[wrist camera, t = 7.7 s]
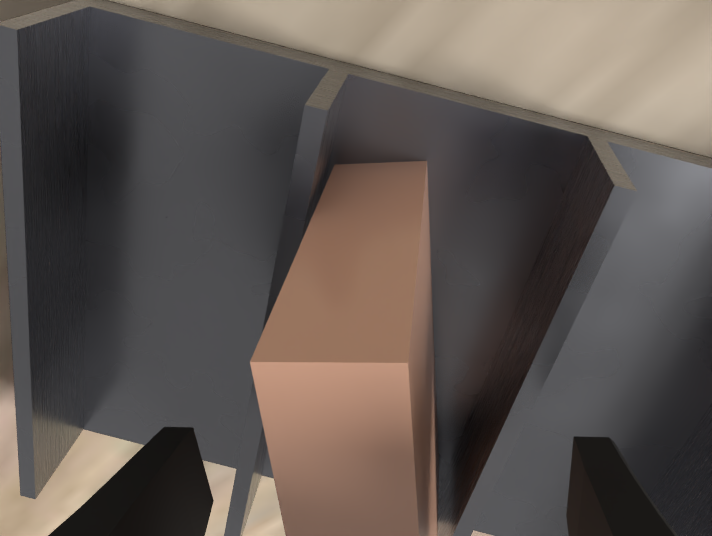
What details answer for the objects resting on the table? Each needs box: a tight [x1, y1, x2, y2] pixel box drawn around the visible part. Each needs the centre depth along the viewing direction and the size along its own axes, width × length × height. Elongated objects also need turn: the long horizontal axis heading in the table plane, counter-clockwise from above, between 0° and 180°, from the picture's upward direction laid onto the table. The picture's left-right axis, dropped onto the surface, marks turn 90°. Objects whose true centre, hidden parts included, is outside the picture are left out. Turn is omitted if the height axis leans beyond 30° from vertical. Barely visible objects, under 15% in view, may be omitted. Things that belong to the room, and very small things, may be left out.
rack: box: [0, 0, 712, 536], centre depth 16 cm, size 17×12×3 cm
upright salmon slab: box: [250, 161, 439, 536], centre depth 13 cm, size 2×9×7 cm, turn 5°
